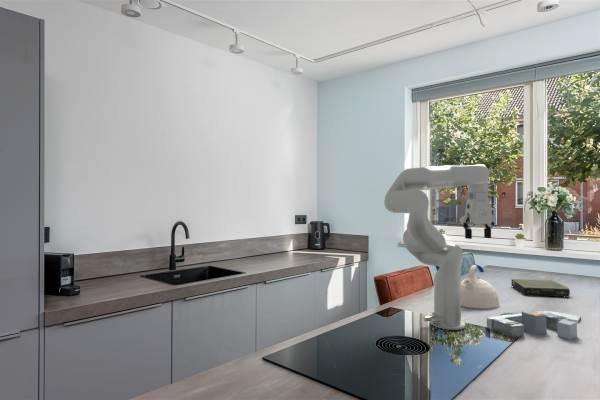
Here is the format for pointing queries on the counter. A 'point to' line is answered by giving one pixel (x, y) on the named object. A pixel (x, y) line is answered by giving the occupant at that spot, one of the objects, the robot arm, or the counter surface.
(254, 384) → the counter surface
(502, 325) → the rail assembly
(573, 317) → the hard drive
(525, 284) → the network switch
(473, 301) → the kettle
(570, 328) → the block
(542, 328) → the module block
